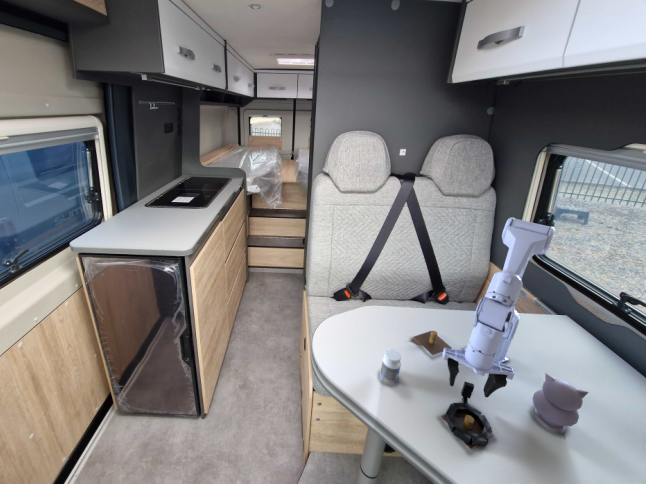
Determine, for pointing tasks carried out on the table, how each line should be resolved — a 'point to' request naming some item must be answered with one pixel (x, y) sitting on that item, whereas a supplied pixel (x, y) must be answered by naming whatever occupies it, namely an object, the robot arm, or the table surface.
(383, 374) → the pill bottle
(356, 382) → the table surface
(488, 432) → the hanger ring
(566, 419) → the cat figurine
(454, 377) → the robot arm
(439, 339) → the tall peg stand
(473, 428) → the short peg stand
